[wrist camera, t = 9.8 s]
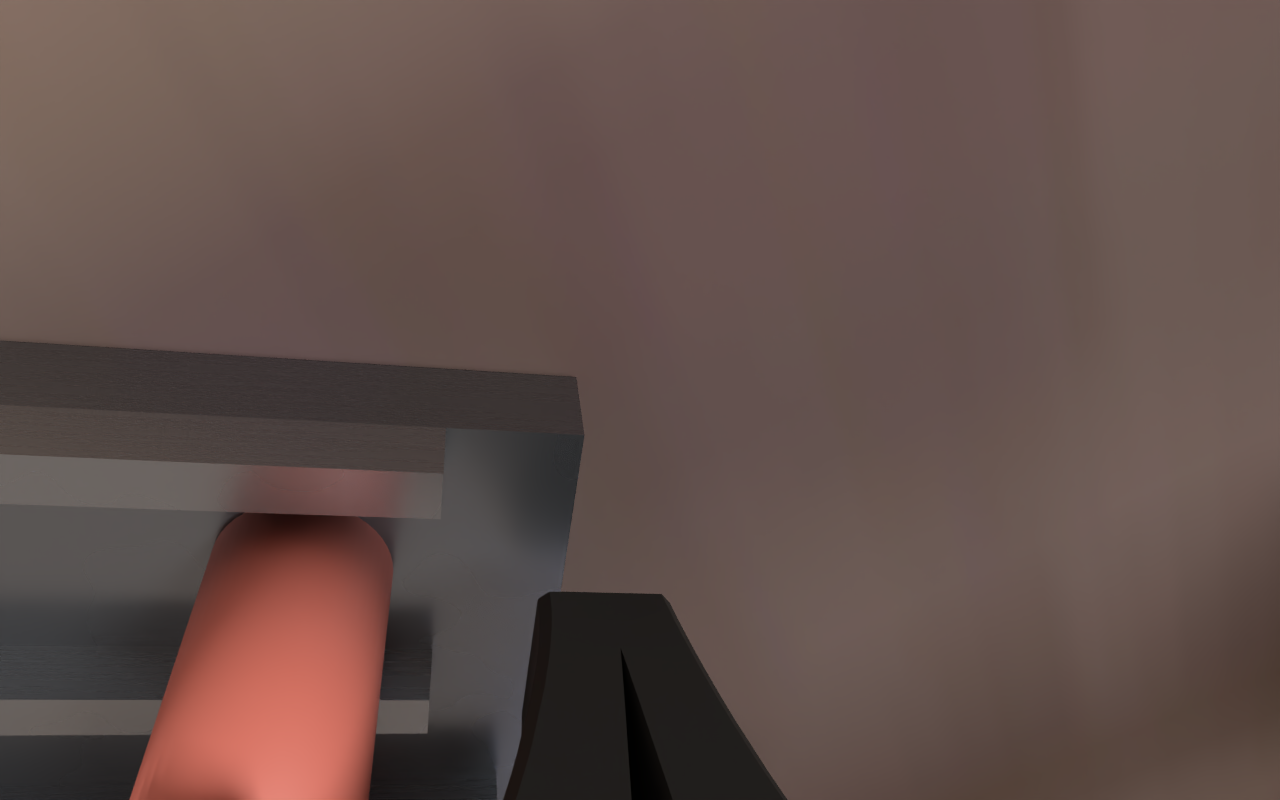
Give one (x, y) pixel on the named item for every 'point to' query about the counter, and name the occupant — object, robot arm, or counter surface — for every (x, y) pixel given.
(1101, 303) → the counter surface
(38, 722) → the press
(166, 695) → the lever
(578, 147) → the counter surface
